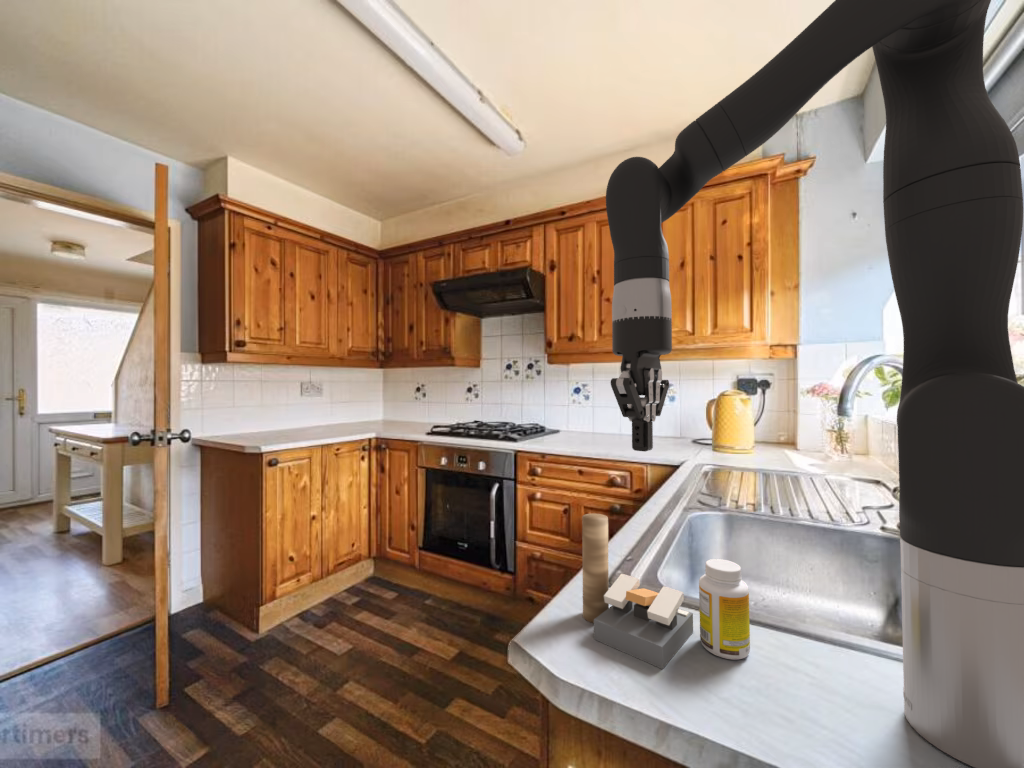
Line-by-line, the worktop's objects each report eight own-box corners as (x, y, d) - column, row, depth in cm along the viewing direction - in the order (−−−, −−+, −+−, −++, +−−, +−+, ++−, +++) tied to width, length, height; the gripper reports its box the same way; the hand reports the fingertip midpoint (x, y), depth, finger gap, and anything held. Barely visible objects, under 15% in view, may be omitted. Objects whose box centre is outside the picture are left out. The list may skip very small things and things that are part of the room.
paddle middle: (661, 605, 57) (662, 594, 57) (644, 609, 53) (645, 597, 53) (642, 599, 58) (643, 588, 59) (625, 603, 55) (626, 591, 55)
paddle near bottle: (684, 602, 55) (683, 592, 54) (669, 628, 51) (668, 618, 51) (664, 595, 56) (663, 586, 56) (648, 621, 53) (647, 611, 52)
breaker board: (693, 632, 56) (692, 602, 56) (662, 669, 49) (662, 634, 49) (629, 609, 62) (629, 582, 62) (593, 639, 55) (593, 608, 55)
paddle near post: (640, 588, 59) (639, 578, 58) (623, 612, 55) (621, 602, 55) (623, 582, 60) (621, 573, 60) (605, 605, 57) (603, 595, 56)
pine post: (613, 616, 60) (612, 516, 61) (600, 626, 58) (599, 522, 58) (591, 607, 63) (590, 512, 63) (577, 617, 60) (577, 517, 60)
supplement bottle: (757, 649, 52) (756, 565, 53) (738, 668, 49) (736, 578, 49) (712, 630, 57) (711, 552, 57) (691, 646, 53) (690, 563, 53)
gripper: (646, 307, 49) (648, 459, 49) (688, 321, 59) (689, 447, 58) (590, 315, 54) (590, 453, 54) (637, 327, 64) (638, 443, 63)
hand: (642, 450), depth 56 cm, fingers closed
